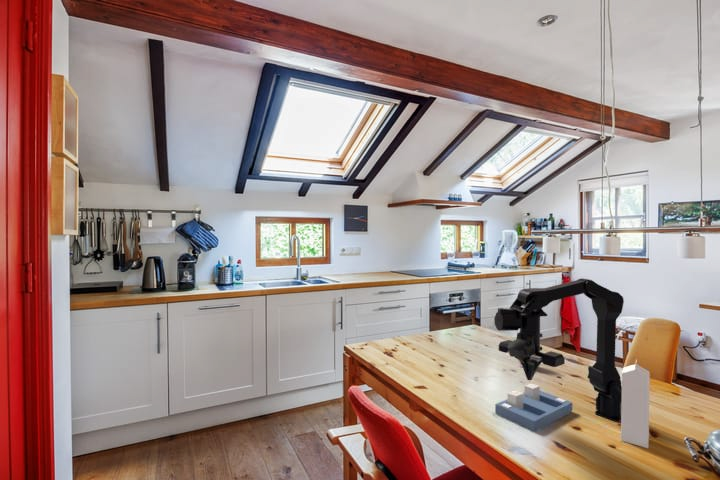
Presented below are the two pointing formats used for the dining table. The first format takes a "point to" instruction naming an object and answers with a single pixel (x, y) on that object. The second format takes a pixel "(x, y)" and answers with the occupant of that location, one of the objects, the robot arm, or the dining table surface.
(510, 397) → the tab
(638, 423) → the milk
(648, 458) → the dining table surface
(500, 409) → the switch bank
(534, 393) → the tab
